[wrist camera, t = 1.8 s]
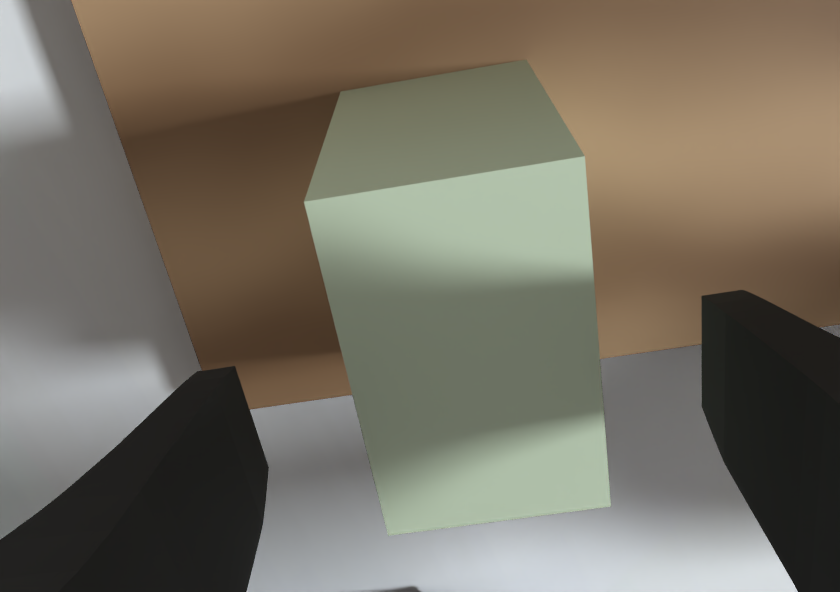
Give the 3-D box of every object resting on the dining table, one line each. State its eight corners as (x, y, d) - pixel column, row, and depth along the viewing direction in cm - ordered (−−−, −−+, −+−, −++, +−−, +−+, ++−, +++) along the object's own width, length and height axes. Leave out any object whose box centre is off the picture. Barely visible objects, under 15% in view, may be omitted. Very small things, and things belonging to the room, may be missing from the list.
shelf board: (1127, 249, 21) (1261, 320, 17) (229, 381, 22) (197, 469, 19) (1367, -632, 13) (1680, -798, 10) (-12, -332, 15) (-131, -389, 12)
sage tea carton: (526, 59, 17) (584, 156, 11) (554, 323, 20) (610, 506, 14) (333, 92, 17) (293, 203, 11) (389, 347, 20) (380, 536, 14)
